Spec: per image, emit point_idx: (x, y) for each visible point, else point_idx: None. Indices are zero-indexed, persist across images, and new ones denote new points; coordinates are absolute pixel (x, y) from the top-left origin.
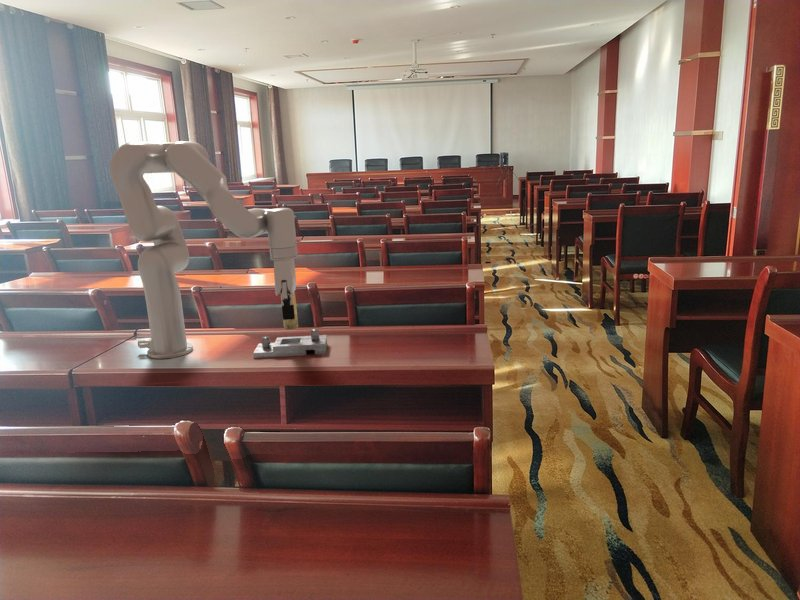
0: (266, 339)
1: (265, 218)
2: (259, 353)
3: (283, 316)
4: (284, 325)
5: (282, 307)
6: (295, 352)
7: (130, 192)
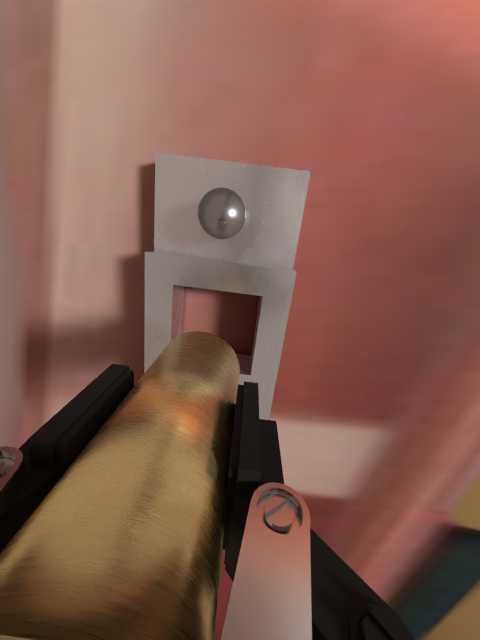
0: (199, 219)
1: None
2: (156, 185)
3: (100, 377)
4: (173, 343)
5: (40, 431)
6: None
7: None
